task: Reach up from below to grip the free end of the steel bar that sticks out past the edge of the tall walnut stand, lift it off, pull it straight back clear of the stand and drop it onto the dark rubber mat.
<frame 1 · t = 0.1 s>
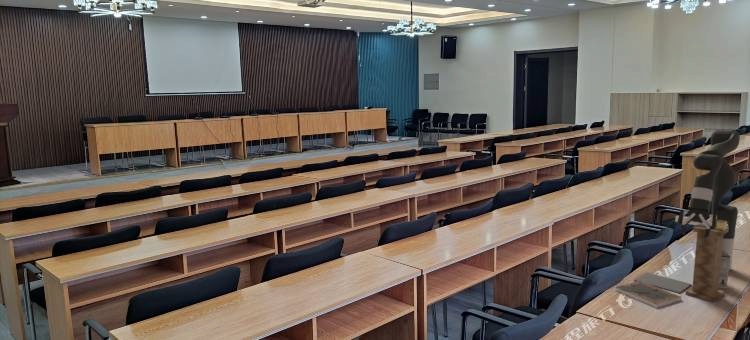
hand: (694, 236, 231), 31 cm above the table, tool tilted 20°, fingers open, 8 cm apart
picture frame: (647, 297, 248), on the table
rubber mat: (662, 283, 261), on the table
coffee box: (716, 284, 258), on the table
walnut stand: (704, 294, 247), on the table
steel bar: (699, 225, 244), point 32 cm above the table, touching walnut stand
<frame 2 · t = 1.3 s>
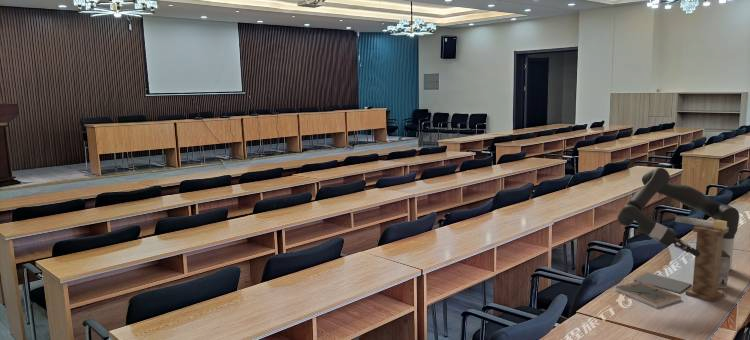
hand: (698, 254, 238), 21 cm above the table, tool tilted 65°, fingers open, 8 cm apart
nothing on the table moved.
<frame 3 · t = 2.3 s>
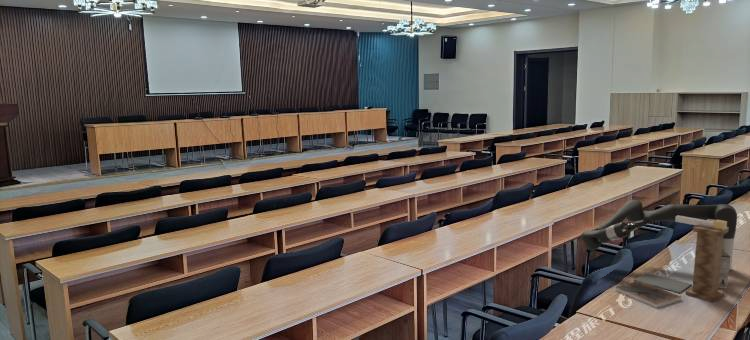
hand: (647, 221, 262), 29 cm above the table, tool pointing upward, fingers open, 8 cm apart
nothing on the table moved.
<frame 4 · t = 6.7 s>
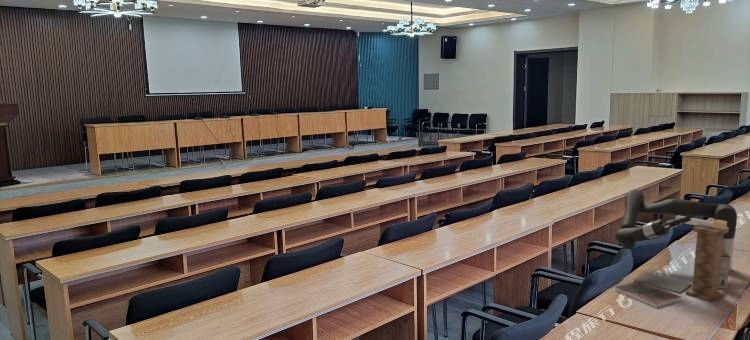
hand: (690, 217, 247), 35 cm above the table, tool pointing upward, fingers closed on steel bar, 2 cm apart
steel bar: (699, 225, 244), point 32 cm above the table, touching gripper, walnut stand
everything else where it was.
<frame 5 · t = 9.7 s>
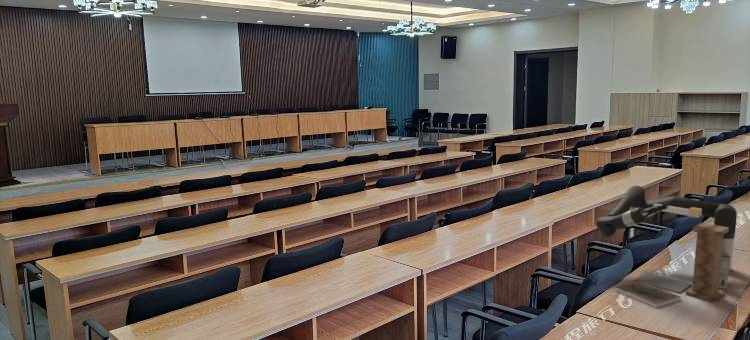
hand: (667, 205, 254), 39 cm above the table, tool pointing upward, fingers closed on steel bar, 2 cm apart
steel bar: (676, 212, 251), point 36 cm above the table, touching gripper
everything else where it was.
when the fingers open (27 cm above the table, at t = 13.0 s): steel bar drops 24 cm, resting on rubber mat.
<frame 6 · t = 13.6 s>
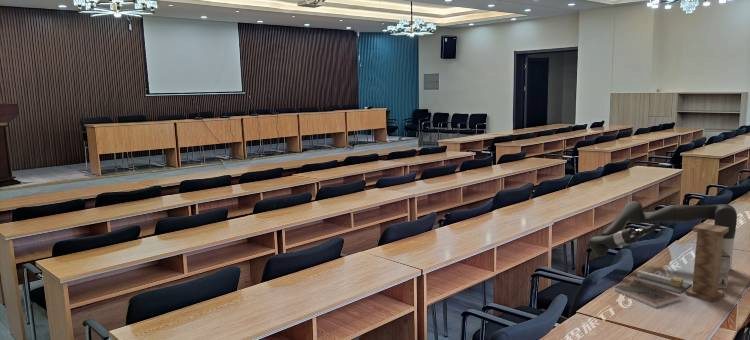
hand: (655, 227, 259), 27 cm above the table, tool pointing upward, fingers open, 8 cm apart
steel bar: (658, 281, 261), point 1 cm above the table, touching rubber mat
everything else where it was.
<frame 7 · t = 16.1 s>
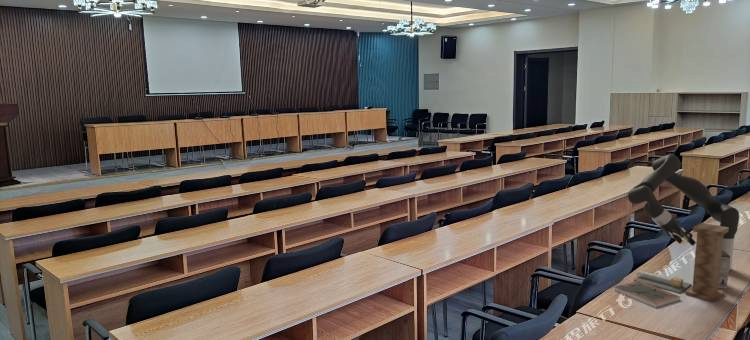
hand: (687, 243, 250), 22 cm above the table, tool tilted 45°, fingers open, 8 cm apart
nothing on the table moved.
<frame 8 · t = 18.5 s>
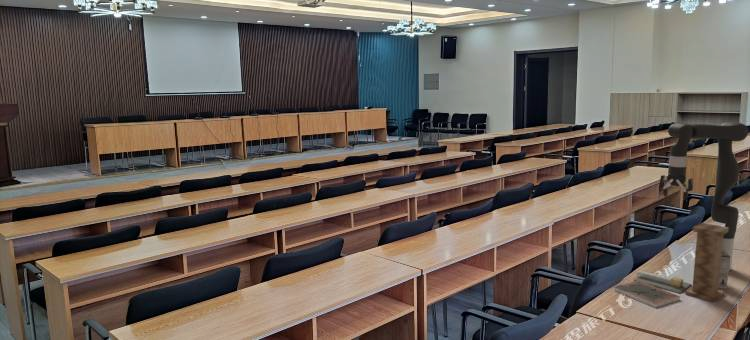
hand: (674, 197, 262), 40 cm above the table, tool pointing down, fingers open, 8 cm apart
nothing on the table moved.
at the end: steel bar inside the target area on the rubber mat (1.5 cm from its centre), point 0.6 cm above the rubber mat's base; steel bar touching rubber mat; the gripper is holding nothing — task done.
